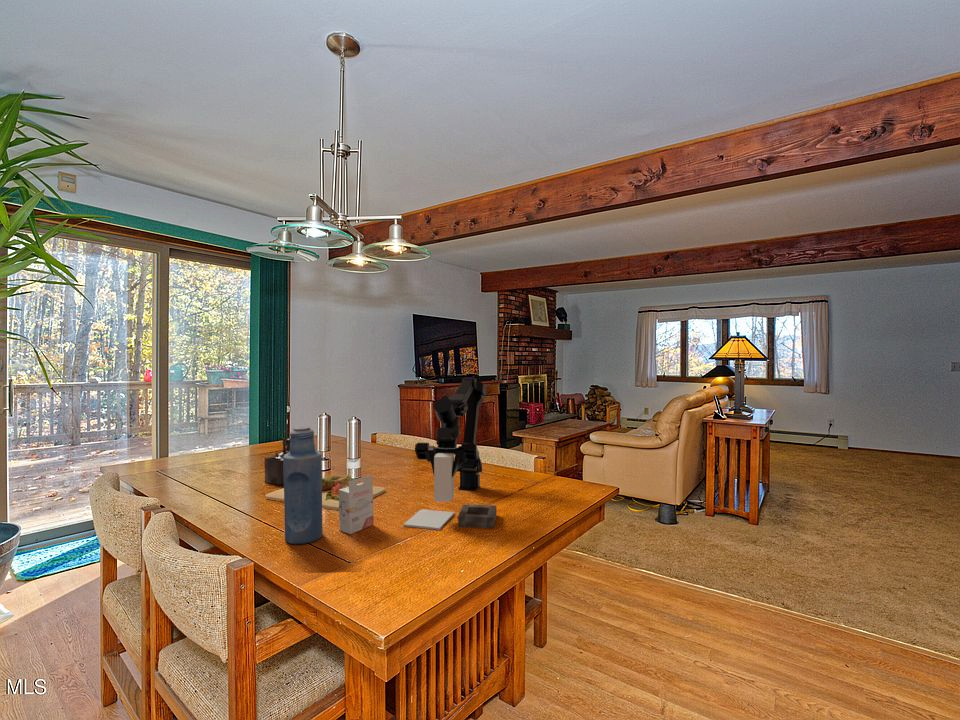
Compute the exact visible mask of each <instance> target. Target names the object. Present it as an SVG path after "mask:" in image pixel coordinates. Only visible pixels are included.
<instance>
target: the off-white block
mask: <svg viewBox="0 0 960 720" xmlns="http://www.w3.org/2000/svg"><path fill="white" fill-rule="evenodd" d="M454 459H455V455H454V453H437V454H436V455H435V456H434V475H433V481H434V482H433V483H434V485H433V487H434V488H433V490H434V491H433V492H434V493H433V495H434V496H433V497H434V499H433V500H434V502H440V503H441V502H447V503H448V502H449V503H452V502H453V499H454V497H455V476H454V477H452V468H453V464H454Z"/></svg>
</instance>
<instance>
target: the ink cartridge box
mask: <svg viewBox="0 0 960 720" xmlns="http://www.w3.org/2000/svg"><path fill="white" fill-rule="evenodd" d="M354 479H355V478H354ZM356 484H357V485H356ZM348 485H349V487H346V488H343V489H339V511H338V515H339V516H338V518H339V531H340V532H343V533H345V534H348V535H351V534H354V533H357V532H360V531H362V530H364V529H367V528H369V527H372V526H374V498H373V486H374V485H373V478H372V475H370V474H369V475H367V476H362V477H358V478H356V479H355V480H351V481H349V482H348Z"/></svg>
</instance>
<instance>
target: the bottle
mask: <svg viewBox="0 0 960 720" xmlns="http://www.w3.org/2000/svg"><path fill="white" fill-rule="evenodd" d="M289 436H290V437H289V438H291V443H290V451H289V452H290V453H287V454H285V455H284V456H283V476H284V485H283V488H284V502H283V503H284V504H283V505H284V507H283V508H284V509H283V510H284V541H285V542H286V543H287V544H290V545H295V546H296V545H297V544H301V545H305V544H306V545H307V544H311V543H314V542H317V541H318V540H320V539H321V538H322V537H323V535H324V534H323V508H322V479H323V473H322V472H323V471H322V470H323V467H322V466H323V464H322V463H323V460H322V459H323V458H322V455H323V454H322V452H321V451H320V450H316V444H315V440H314V439H315V431H314V430H313V429H312V428H311V426H297V427H294V428H293V430H292V431H290V433H289Z"/></svg>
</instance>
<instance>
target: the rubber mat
mask: <svg viewBox="0 0 960 720" xmlns="http://www.w3.org/2000/svg"><path fill="white" fill-rule="evenodd" d="M454 515H455V511H454V512H453V511H443V510H434V509H424V508H423V509H421V508H420V509H419V511H417V512H415V514H414V515H413V516H411V517H410V518H409V519H408V520H407V521H406V522H404V523H403V527H407V528H417V529H426V530H435V531H436V530H437V531H440V530H441V529H443V527H444V526H445V525H446V524H447V523H448V522H449V521H450V520H451V519H452V517H454Z"/></svg>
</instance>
